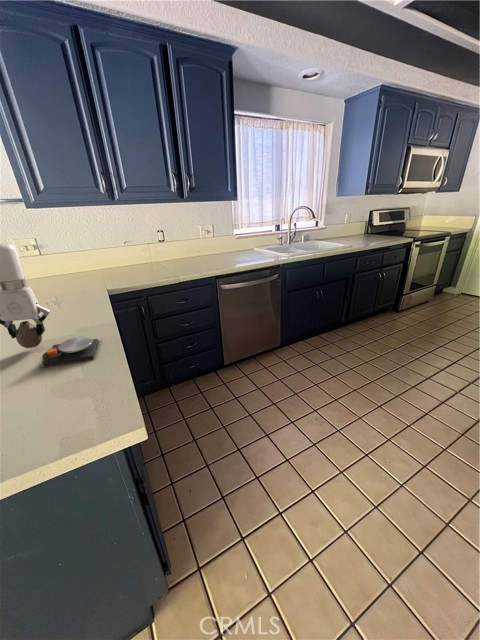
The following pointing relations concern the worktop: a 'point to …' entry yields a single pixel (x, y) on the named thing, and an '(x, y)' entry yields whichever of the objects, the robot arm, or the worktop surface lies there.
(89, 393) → the worktop surface
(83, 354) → the scale
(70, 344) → the pan
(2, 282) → the robot arm
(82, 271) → the worktop surface
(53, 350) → the tare button
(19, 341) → the vase
